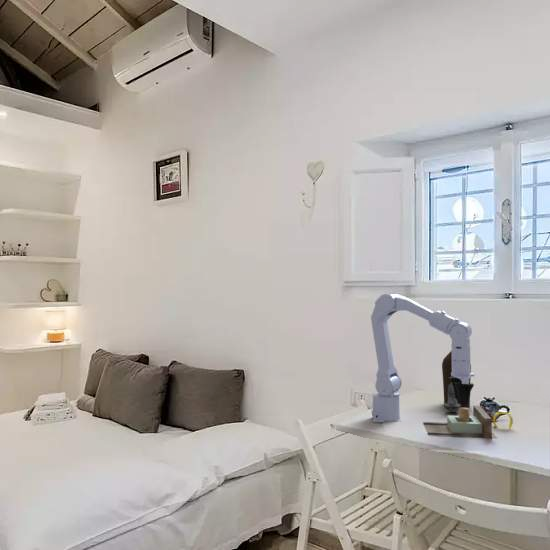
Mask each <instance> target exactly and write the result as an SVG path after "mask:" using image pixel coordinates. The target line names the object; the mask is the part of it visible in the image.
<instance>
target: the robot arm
mask: <svg viewBox="0 0 550 550" xmlns="http://www.w3.org/2000/svg"><path fill="white" fill-rule="evenodd" d="M374 303H375V304H374V308H373V310H372V314H371V316H370V320H371V321H370V322H371V327H372V334H373V340H374V341H373V342H374V346H375V347H374V348H375V353H376V360H377V365H378V368H377V371H376V374H375V377H376V382H375V390H376V392H377V394H376V393H375V394H372V410H371V417H372V421H373V423H385V422H391V423H392V422H394V423H396V422H397V423H398V422H400V423H401V417H400V392H399V390H400V389H401V387H402V379H401V377H400V375H399V373H398V370H397V368H396V366H395V365H394V360H393V359H394V357H393V353H392V345H391V340H390V339H391V338H390V335H389V333H390V332H389V327H388V320H389V319H391V317H392V315H394V314H395V313H397V312H399V311H402V312H403V311H407V312H409V313H411V314H414V315H416V316H418V317H420V318H422V319H424V320H427V321H428V324H429V326H430V327H432V328H433V329H436V330H437V331H440V332H442V333H443V334H446V335H447V336H449V337H450V338H451V350H452V373H451V376H453V377H449V378H450V380H451V382H452V385H453V389H454V394H455V398H456V399H459V402H460V405H467V404H468V400H469V395H470V396H471V394H470V392H472V390H473V388H474V385H475V384H474V383H471V382H470V383H469V378H470V377H471V378H472V377H475V373H473V372H471V373H470V364H471V339H470V337H471V336H472V332H473V331H472V328H471V326H470V324H468V323H467V322H466V321H460V319H459V318H457V317H456V318H454V317H452V316H450V315H448V314H447V313H446V311H444V310H441V311H440V310H436V311H434V312H433V311H432V310H431V309H429V308H426V307H425V306H423V305H421V304H419V303H418V302H416V301H414V300H412V299H410V298H408V297H406V296H404V295H400V294H399V293H390V294H389V293H383V294H381V295H380V296H379V297H378V298H377V299H376V300H375V301H374Z"/></svg>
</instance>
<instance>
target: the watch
mask: <svg viewBox="0 0 550 550" xmlns="http://www.w3.org/2000/svg"><path fill="white" fill-rule="evenodd" d="M499 415H507V416H508V417H509V424H508V425H507V426H506V427H507V428H509V429H511V428H512V426H513V423H514V420H513V416H511V414H510V413H508V411H507V410H505V409H504V410H503V409H499V410H498V411H497V412H496V413H494V415H493V417H492V423H493V424H492V425H493V426H494V427H495V428H499V427H498V426H497V424H496V419H497V417H498V416H499Z"/></svg>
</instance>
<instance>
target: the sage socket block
mask: <svg viewBox="0 0 550 550" xmlns="http://www.w3.org/2000/svg"><path fill="white" fill-rule="evenodd" d="M446 419H447V420H446V423H447V425H446V426H448V427H449V429H450V431H451V433H478V434H482V423H481V422H480V421H479V420H478V418H477V417H476V416H473V415H469V422H459V415H449V414H447V415H446Z"/></svg>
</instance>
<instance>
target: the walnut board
mask: <svg viewBox="0 0 550 550" xmlns="http://www.w3.org/2000/svg"><path fill="white" fill-rule="evenodd" d="M472 406H473V411H472V413H473V414H472V416H476V417H477V418H478V420H479V421H480V422H481V423H482V434H478V433H451V431H450V429H449V427H448V426H447V422H440V421H439V422H438V421H423V422H422V424H423V426H424V428H425V430H426V432H427V435H428V437H437V438H438V437H439V438H440V437H442V438H468V439H469V438H471V439H492V440H493V439H494V440H495V439H498V438H497V436H495V434H493V431H492V430H493V429H492V428H493V427H492V426H493V424H492V423H493V418H492V417H491V416H490V415H489V414H488V413H487V412H486V411H485V409H483V408H482V407H481V406H480V405H472Z"/></svg>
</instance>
